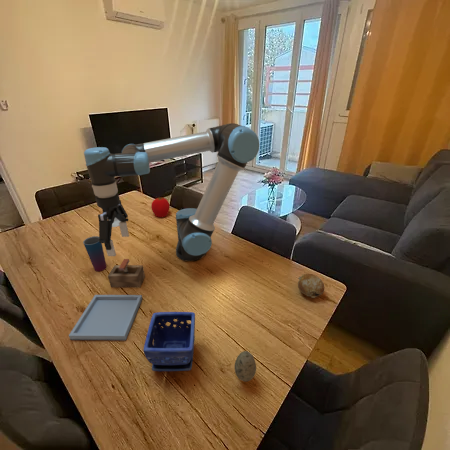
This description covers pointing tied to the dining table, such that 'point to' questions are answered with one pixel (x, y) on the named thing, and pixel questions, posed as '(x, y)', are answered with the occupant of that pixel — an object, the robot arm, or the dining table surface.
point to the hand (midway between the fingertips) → (119, 245)
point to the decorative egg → (245, 366)
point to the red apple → (160, 207)
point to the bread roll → (311, 285)
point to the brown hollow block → (126, 276)
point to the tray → (107, 318)
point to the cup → (95, 253)
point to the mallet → (124, 266)
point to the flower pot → (170, 341)
